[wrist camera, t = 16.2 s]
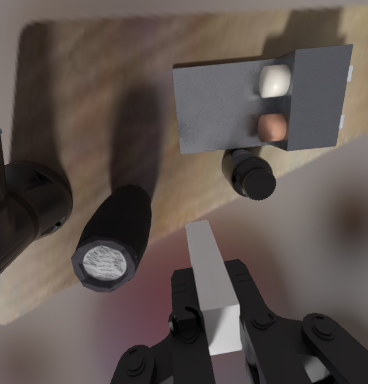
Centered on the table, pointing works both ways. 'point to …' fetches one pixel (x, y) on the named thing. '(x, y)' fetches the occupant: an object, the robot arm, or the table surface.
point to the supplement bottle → (248, 174)
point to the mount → (262, 101)
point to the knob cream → (279, 80)
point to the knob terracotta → (276, 127)
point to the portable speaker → (114, 240)
